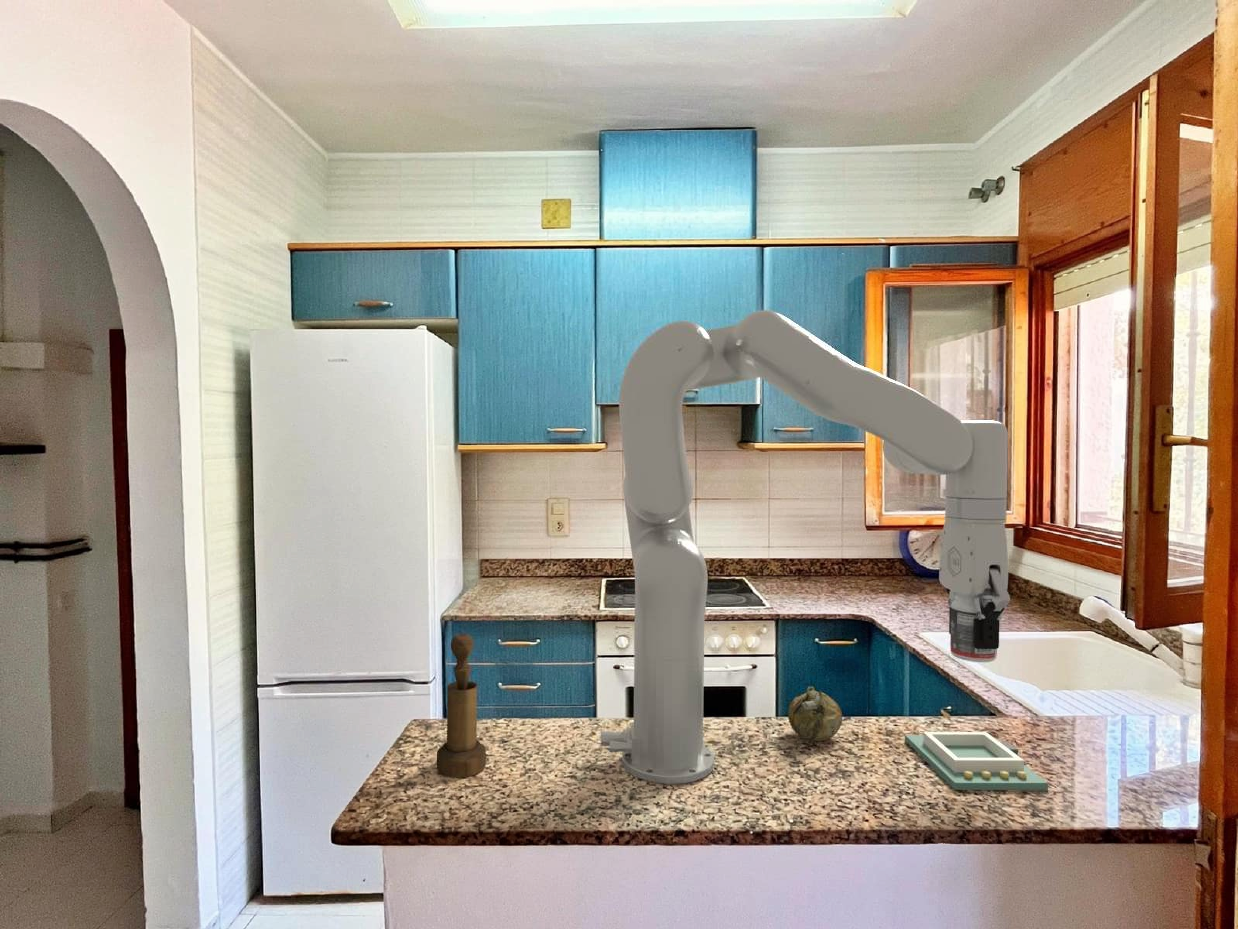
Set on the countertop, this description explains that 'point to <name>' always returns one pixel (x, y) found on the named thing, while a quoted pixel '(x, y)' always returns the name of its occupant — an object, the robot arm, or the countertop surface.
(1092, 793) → the countertop surface
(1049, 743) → the countertop surface
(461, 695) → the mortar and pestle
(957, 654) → the pill bottle
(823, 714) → the onion
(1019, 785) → the board
